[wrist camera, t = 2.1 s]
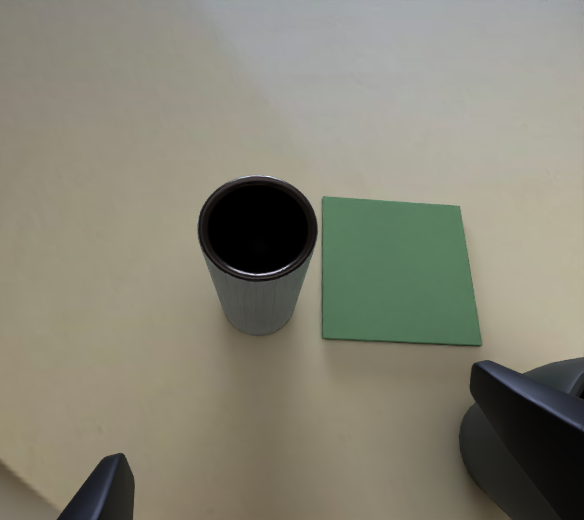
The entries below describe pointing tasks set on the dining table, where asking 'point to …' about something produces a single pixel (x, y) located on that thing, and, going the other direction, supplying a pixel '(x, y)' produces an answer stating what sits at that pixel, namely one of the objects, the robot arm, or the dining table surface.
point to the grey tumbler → (257, 249)
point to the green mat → (396, 273)
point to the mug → (496, 459)
